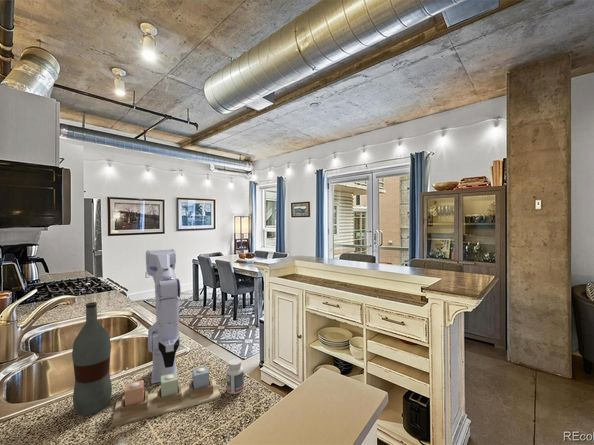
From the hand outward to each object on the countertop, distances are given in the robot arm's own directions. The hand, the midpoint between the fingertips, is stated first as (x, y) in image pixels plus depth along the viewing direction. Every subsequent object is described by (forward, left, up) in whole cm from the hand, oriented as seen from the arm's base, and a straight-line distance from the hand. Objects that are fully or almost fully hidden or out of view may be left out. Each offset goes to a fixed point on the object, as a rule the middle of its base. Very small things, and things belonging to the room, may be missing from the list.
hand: (169, 366), depth 86 cm
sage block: (0, 0, -8) cm, 8 cm away
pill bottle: (+3, +19, -11) cm, 22 cm away
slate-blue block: (0, +9, -8) cm, 12 cm away
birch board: (0, 0, -10) cm, 10 cm away
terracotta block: (0, -9, -8) cm, 12 cm away
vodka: (-7, -20, -11) cm, 24 cm away
